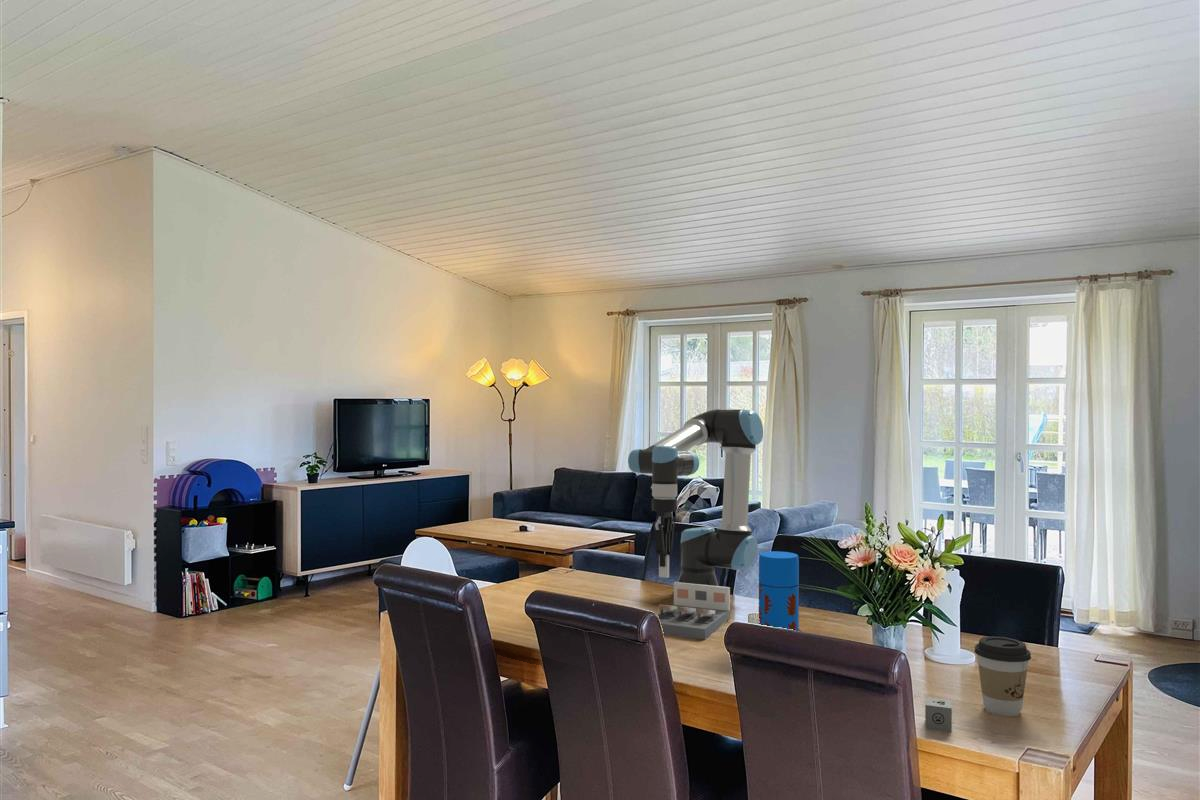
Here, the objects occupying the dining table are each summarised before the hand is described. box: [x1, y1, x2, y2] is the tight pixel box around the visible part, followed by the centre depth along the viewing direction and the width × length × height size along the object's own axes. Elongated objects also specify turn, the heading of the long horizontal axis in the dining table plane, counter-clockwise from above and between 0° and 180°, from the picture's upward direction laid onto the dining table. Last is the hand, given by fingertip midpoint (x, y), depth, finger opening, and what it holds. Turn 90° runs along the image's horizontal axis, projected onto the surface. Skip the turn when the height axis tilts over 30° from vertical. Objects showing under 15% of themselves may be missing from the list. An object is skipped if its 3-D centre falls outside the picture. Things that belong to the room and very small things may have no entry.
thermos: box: [758, 550, 800, 631], centre depth 234 cm, size 11×11×25 cm
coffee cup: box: [973, 635, 1032, 718], centre depth 185 cm, size 11×11×15 cm
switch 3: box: [697, 609, 715, 615], centre depth 250 cm, size 8×3×1 cm, turn 155°
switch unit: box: [657, 581, 731, 641], centre depth 254 cm, size 24×18×10 cm
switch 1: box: [658, 604, 677, 610], centre depth 255 cm, size 8×3×1 cm, turn 154°
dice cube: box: [924, 696, 953, 733], centre depth 176 cm, size 5×5×5 cm
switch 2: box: [678, 607, 696, 612], centre depth 252 cm, size 8×3×1 cm, turn 154°
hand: (663, 576), depth 252 cm, fingers closed
